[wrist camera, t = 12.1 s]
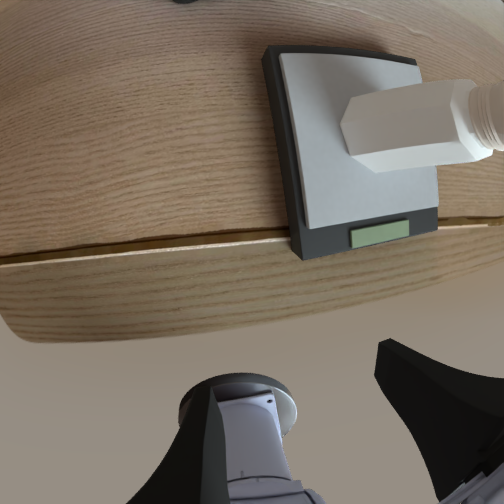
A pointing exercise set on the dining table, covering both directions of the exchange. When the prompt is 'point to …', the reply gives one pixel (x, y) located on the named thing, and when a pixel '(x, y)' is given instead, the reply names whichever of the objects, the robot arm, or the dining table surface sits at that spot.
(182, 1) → the phone
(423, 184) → the scale
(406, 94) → the pepper shaker
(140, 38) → the dining table surface
